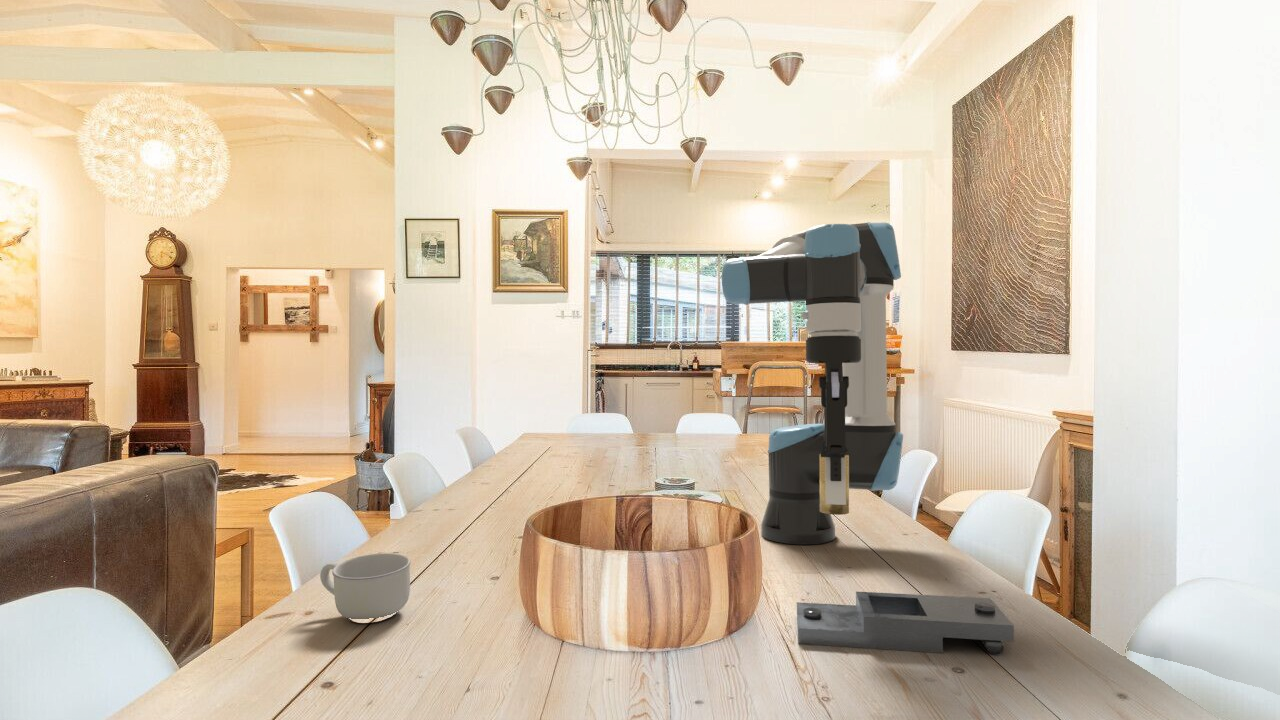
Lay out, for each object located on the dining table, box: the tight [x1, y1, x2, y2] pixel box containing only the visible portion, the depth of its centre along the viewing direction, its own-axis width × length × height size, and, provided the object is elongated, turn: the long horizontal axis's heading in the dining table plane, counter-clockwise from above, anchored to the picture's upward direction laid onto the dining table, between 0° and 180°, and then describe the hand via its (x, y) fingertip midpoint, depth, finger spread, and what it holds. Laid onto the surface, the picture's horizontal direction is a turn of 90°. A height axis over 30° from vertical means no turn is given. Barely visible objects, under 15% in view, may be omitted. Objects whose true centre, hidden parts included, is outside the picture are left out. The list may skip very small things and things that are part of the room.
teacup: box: [319, 552, 411, 619], centre depth 105 cm, size 14×11×8 cm
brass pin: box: [820, 454, 850, 516], centre depth 99 cm, size 4×4×8 cm
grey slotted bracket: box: [796, 591, 1015, 656], centre depth 94 cm, size 10×26×5 cm, turn 78°
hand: (835, 500), depth 99 cm, fingers closed on brass pin, 3 cm apart
